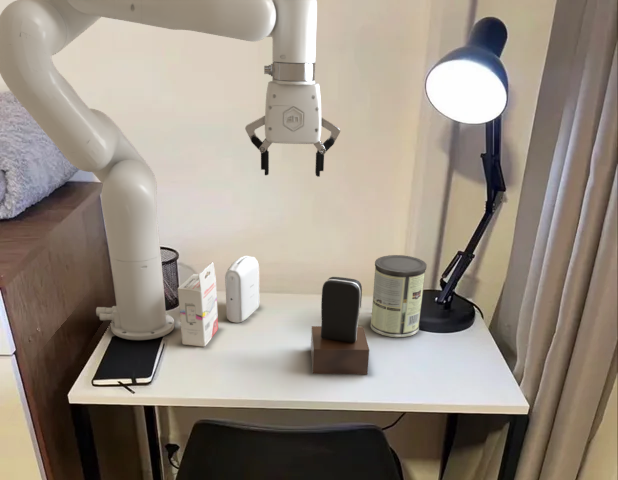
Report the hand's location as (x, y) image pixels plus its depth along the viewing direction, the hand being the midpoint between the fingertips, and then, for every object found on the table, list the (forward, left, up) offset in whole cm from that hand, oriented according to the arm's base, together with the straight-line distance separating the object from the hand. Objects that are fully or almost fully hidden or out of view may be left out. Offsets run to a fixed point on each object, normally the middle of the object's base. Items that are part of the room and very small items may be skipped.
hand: (292, 174), depth 125 cm
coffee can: (+22, -2, -31) cm, 38 cm away
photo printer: (-10, +4, -31) cm, 32 cm away
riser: (+9, -18, -30) cm, 36 cm away
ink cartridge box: (-18, -8, -31) cm, 36 cm away
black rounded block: (+9, -18, -26) cm, 32 cm away
